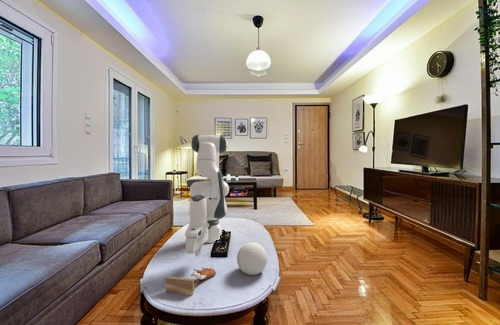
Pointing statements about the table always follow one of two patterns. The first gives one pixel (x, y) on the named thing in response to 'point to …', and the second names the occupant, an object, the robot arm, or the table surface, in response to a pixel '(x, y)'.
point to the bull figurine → (204, 273)
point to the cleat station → (181, 285)
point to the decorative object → (252, 258)
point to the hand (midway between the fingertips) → (198, 254)
